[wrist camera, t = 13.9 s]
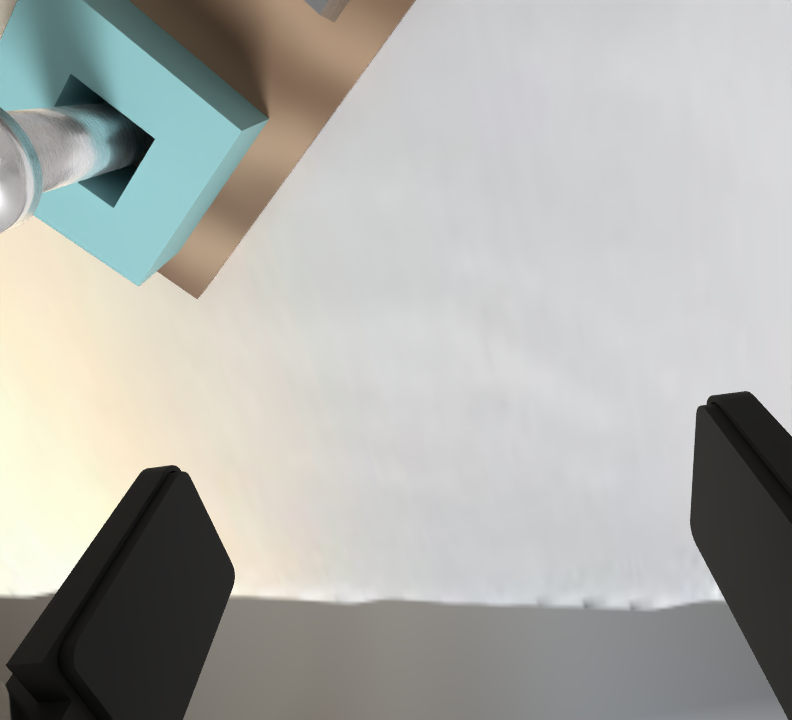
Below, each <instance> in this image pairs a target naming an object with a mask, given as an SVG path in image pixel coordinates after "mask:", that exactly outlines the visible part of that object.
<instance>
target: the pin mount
mask: <svg viewBox="0 0 792 720" xmlns="http://www.w3.org/2000/svg"><path fill="white" fill-rule="evenodd" d="M304 1H305V2H306V3H307V4H308V5H310V6H311V7H312V8H313V9H314V10H315V11H316V12H317V13H318V14H319V15H321V16H323V17H325V18H327V19H329V20H330V21H332V22H334V23H335V21H336V20H337V18H338V17H339V16H340V14H341V13H342V11H343V10H344V8H345V7H346V5H347V4H348V2H349V1H350V0H304Z"/></svg>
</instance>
